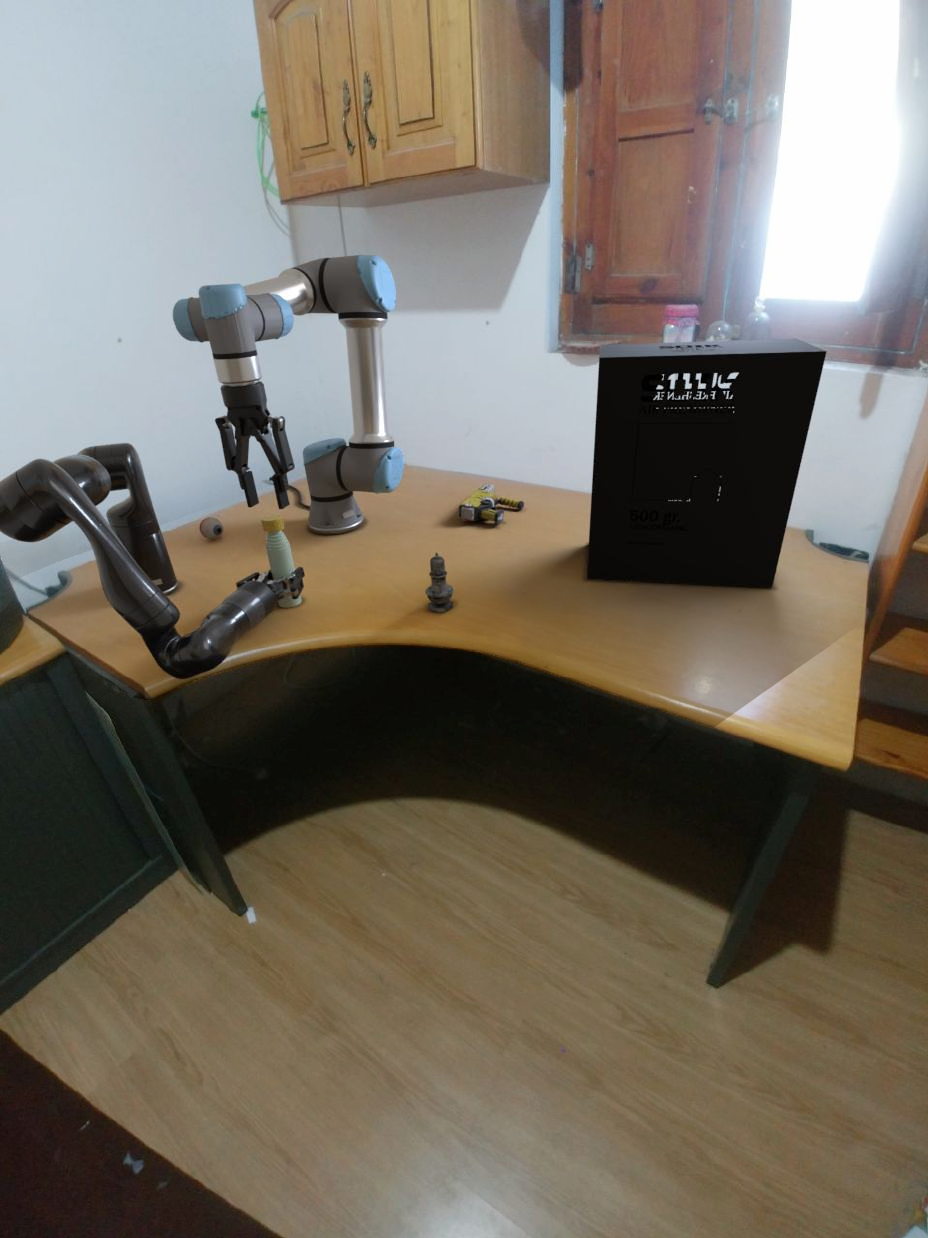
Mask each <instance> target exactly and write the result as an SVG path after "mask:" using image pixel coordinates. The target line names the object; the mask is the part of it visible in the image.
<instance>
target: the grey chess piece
mask: <svg viewBox="0 0 928 1238" xmlns="http://www.w3.org/2000/svg"><path fill="white" fill-rule="evenodd" d="M429 566H430V572H429V573H428V575H429V577H430V581H431V583H430V584H431V585H430V586H428V587H426V589H425V590H424V592H425V595H426V596H427V599H428V600H429V601H430V602H428V603H427V604H428V606H427V608H428V609H429V610H430V611H432V612H435V613H443V612H448V611H450V610H451V609H453V607H454V603H453V601H452V600H451V599H452V597H453V593H454V591H455V589H454V587H453V586H452V585H450V584H448V583H447V575H448V572H447V571H446V565H445V559H444V558H443V556H440V555H439V553H438V552H435V554H434V556H432V557H431V558H430V559H429Z"/></svg>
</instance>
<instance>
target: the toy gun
mask: <svg viewBox="0 0 928 1238" xmlns="http://www.w3.org/2000/svg"><path fill="white" fill-rule="evenodd" d="M495 489H496V486H495V484H493V483H490V485H489V483H488V482H486V483H485V484H483V485H482V486H481V487H480V488H478V489H476V490H475V491H474V492H473V493H472V494H470V495H469V496H468V497H467V498H466V499H465V500H464V501H463V502H462V503H461V504H460V505H458V513H457V517H458V518H459V519H460V520H463V522H469V523H470V521H471V522H478V521H481V520H482V521H483V520H488V521H492V522H494V525H500V524H501V523H502V522H503V521H504V516H505V510H504V509H502V508H501V509H499V510H498V509H497V507H496V506H498V505H500V506H505V507H509V508H513V509H514V508H515V509H517V510H519V511H520V510H523V509H524V508H525V502H524V501H523V500H517V499H513V498H509V497H505V496H500V498H498V496H497V495H496V493H495Z"/></svg>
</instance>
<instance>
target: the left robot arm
mask: <svg viewBox="0 0 928 1238" xmlns="http://www.w3.org/2000/svg"><path fill="white" fill-rule="evenodd" d="M146 480H147V479H146V476H145V473H144V469H143V465H142V461H141V457H140V456H139V453H138V451H137V449H136V448H135V447H134V445H132V443H129V442H119V443H109V444H100V445H91V446H88V447H85V448H83V449H81V450H80V451H78V452H77V453H76V454H71V455H67V456H63V457H60V458H57V459H55V460H53V461H51V460H49V459H45V458H36V459H33V460H32V461H30V462H28V463H26V464H25V465H23V466H21V467H20V468H18V469H17V470H15V471H14V472H12V473H11V474H9V475H8V476H6V477H4V478H2V479H1V480H0V533H2V534H3V535H5V536H6V537H8V538H11V539H12V540H15V541H18V542H23V543H38V542H40V541H43V540H46V539H48V538H50V537H51V536H52V535H54V534H56V533H57V532H58V531H60V530H62V529H63V528H64V527H66V526H68V525H70V524H71V523H73V522H74V523H75V524H76V525H77V527H78V528H79V529H80V530H81V531H82V533H83V534H84V536H85V537H86V538H87V541H88V542H89V544H90V546H91V548H92V552H93V555H94V558H95V562H96V566H97V570H98V573H99V574H98V576H99V579H100V584H101V587H102V591H103V594H104V596H105V598H106V600H107V602H108V603H109V605H110V606H111V608H112V609H113V610H114V611H115V612H116V613H117V614H118V615H119V616H120V617H121V618H122V619H123V620H124V621H125V622H126V623H127V624H128V625H129V626H130V627H131V628H132V629H133V630H134V631H136V632H137V634H139V635H140V637H141V639H142V642H144V645H145V647H146V648H147V650H148V651H149V653H150V655H151V656H152V658H153V660H154V662H155V663H156V664H157V666H158V667H159V668H160V669H161V670H162V671H163V672H164V673H165V674H167V675H168V676H170V677H172V678H174V679H178V680H187V679H190V678H194V677H196V676H198V675H201V674H204V673H207V672H210V671H213V670H214V669H215V668H217V667H219V666H220V665H222V663H223V662H224V661H225V660H226V659H227V657H228V656H229V655H230V653H231V652H232V650H233V649H234V648H235V647H234V646H235V644H236V643H238V642H239V641H240V640H242V638H244V636H246V635H247V634H248V633H250V632H251V631H252V630H254V629H256V627H257V626H259V625H260V624H261V623H262V622H263V621H264V620H265V619H266V618H267V617H268V616H269V615H271V613H273V611H274V610H275V609H276V606H277V603H278V601H279V600H281V599H283V598H284V597H285V596H292V599H298V597H299V595H300V596H301V593H302V592H303V590H304V588H305V585H304V580H303V578H305V576H306V575H305V570H304V567H303V566H298V567H297V568H295V570H294V571H293V572H292V573H291V574H290V575H288V576H286V577H284V576H281V577H279V578H277V579H275V580H273V576H272V572H271V568H270V569H269V570H267V571H263V572H262V573H260V571H256V572H253V573H252V574H250V575H248V576H246V577H244V578H242V579H240V580H238V581H237V582H235V585H236V590H234V591H233V592H232V593H231V594H229V596H227V597H226V598H225V599H224V600H223V601H222V602H220V604H219V605H218V606H216V607H215V608H214V609H213V610H211V612H209V613H208V614H207V615H206V616H205V617H204V618H203V619H202V620H201V623H200V626H199V627H198V628H196V629H194V630H193V631H191V632H189V633H187V634H184V635H181V634H180V633H179V631H178V630H177V628H176V625H177V623H178V622H179V621H180V618H181V613H180V612H181V611H180V610H179V608H178V606H176V604H175V603H174V602H173V601H172V600H171V599H170V598H169V597H168V595H170V594H172V593H174V592H175V591H177V589H178V588H179V586H180V585H179V581H178V579H177V576H176V573H175V570H174V566H173V564H172V561H171V558H170V557H171V556H170V554H169V551H168V548H167V544H166V542H165V538H164V535H163V533H162V529H161V526H160V523H159V520H158V518H157V515H156V511H155V508H154V505H153V501H152V498H151V494H150V491H149V488H148V484H147V481H146ZM122 490H128V492H129V495H128V496H127V497H126V498H125V499H123V500H122V501H119V502H118V503H116V504H114V505H112V506H111V507H110V508H108V509H107V511H106V512H105V514H106V516H105V517H106V519H107V520H106V519H105V517H104V516H103V515H102V513H101V512H100V511H99V509H98V508H97V506H99V505H100V504H102V503H103V502H104V501H105V500H106V499H107V498H108V497H109V494H110V492H116V491H122ZM289 580H291V584H289ZM281 582H282V583H281Z"/></svg>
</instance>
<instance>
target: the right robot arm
mask: <svg viewBox="0 0 928 1238" xmlns="http://www.w3.org/2000/svg"><path fill="white" fill-rule="evenodd" d="M396 301H397V290H396V283H395V279H394V275H393V274H392V271H391V270H390V267H389V265H388V264H387V262H386V261H385V260H384V258H382V257H381V256H379V255H376V254H357V255H356V254H355V255H343V256H335V257H334V256H333V257H321V258H317V259H313V260H309V261H307V262H304V263H302V264H299V265H295V266H293V267H290V268H285V269H284V270H282V271H281V272H280V273H279V274H278V276H276V277H272V278H270V279H266V280H261V281H258V282H254V283H250V284H246V285H242V284H240V283H225V284H224V283H223V284H209V285H208V284H207V285H206V284H205V285H202V286H200V287H199V288H198V297H193V296H190V297H188V298H182V299H178V300H177V301H176V302H175V303H174V305H173V308H172V321H173V323H174V325H175V329H176V331H177V332H178V334H179V335H180V337H182V338H183V339H185V340H186V341H189V342H197V343H198V342H199V343H201V344H202V343H205V342H206V343H207V342H209V345H210V349H211V354H212V358H213V359H212V360H213V364H214V368H215V372H216V378H217V381H218V383H220V384H221V386H220V393H221V398H222V402H223V406H224V407H226V409H227V412H226V415H222V416H219V417H216V418H215V419H214V423H215V425H216V427H217V429H218V431H219V436H220V441H221V447H222V452H223V456H224V457H223V458H224V463H225V468H226V470H227V471H229V472H231V471H233V472H234V473H235V474H236V475H237V478H238V479H237V480H238V482H239V486H240V487H239V488H240V489H241V490H243V491H244V496H245V499H246V500H245V501H246V504H247V508H253V507H255V506H256V505H258V504H260V500H259V495H258V492H257V488H256V487H257V486H256V483H255V478H254V474H253V470H250V468H251V467H249V453H250V451H249V450H250V438H251V437H254V438H255V440H256V442H258V443H259V444H260V447H261V449H262V451H263V453H264V454H265V456H266V458H267V460H268V462H269V464H270V466H271V469H272V471H273V472H274V473H273V474H272V475H271V476H269V478H268V481H272V483H273V488H274V491H275V492H274V493H275V498H276V502H277V506H278V510H284V509H285V508H287V507H288V506H290V504H291V503H290V500H289V495H288V490H290V489H292V490H293V491H295V492H296V493H297V495H298V504H299V505H300V506H301V507H303V508H306V509H309V513H308V521H307V522H308V523H307V524H308V528H309V529H308V530H310V531H311V532H312V533H314V534H317V535H323V536H324V535H325V536H327V535H329V536H331V535H339V534H340V535H341V534H345V533H350V532H353V531H355V530H357V529H359V528H361V527H362V526H363V525H364V523H365V519H364V514H363V512H362V510H361V508H360V505H359V504H358V501H357V500H356V498H355V495H354V492H359V493H374V494H376V495H377V494H390V493H392V492H394V491H395V490H396V489H397V488H398V487H399V485H400V483H401V481H402V478H403V475H404V467H405V456H404V454H403V450H402V449H401V448H399V447H398V446H395V438H394V437H393V436H392V435H391V434H390V433H389V431H388V413H387V412H388V411H387V396H386V380H385V378H386V377H385V360H384V359H385V357H384V343H383V328H384V326H386V324H387V323H388V322H389V320H388V317H389V316H388V313H390V312H392V311H393V310H394V309H395V307H396ZM307 314H332V315H333V314H335V315H336V314H337V317H338V322H339V323H340V325H341V326H342V327H343V328H344V330H345V337H346V351H347V362H348V374H349V375H348V376H349V377H348V378H349V387H350V401H351V415H352V428H353V433H352V435H351V436H350V438H348V445H347V441H346V439H345V438H342V437H334V438H328V439H323V440H320V441H319V440H318V441H316V442H313V443H309V444H308V445H306V446H305V447H304V448H303V450H302V457H303V458H302V460H303V467H304V471H305V477H306V481H307V486H308V492H309V498H310V505H308V504H304V503H303V502H302V494H301V492H300V490H299V489H297V488H296V487H295V486H292V485H291V484H289V478H288V473H289V472H291V471H293V470H295V462H294V458H293V454H292V450H291V447H290V443H289V439H288V436H287V432H286V418H285V416H283V415H281V416H275V415H273V414H271V412H270V410H269V409H268V406H267V405H268V404H267V402H268V398H267V393H266V389H265V388H266V387H265V384H264V383H263V382H262V381H260V380H261V379H262V378H263V375H262V369H261V365H260V361H259V360H260V359H259V355H258V350H257V345H256V343H257V342H262V341H263V342H264V341H269V340H279V339H280V338H283V337H286V336H287V335H289V334H290V332H291V331H292V329H293V328H294V322H295V317H294V316H304V315H307ZM233 427H234V429H233Z"/></svg>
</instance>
